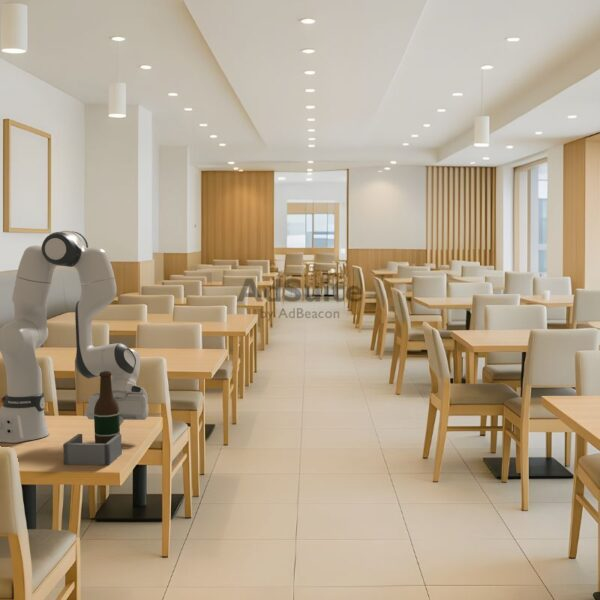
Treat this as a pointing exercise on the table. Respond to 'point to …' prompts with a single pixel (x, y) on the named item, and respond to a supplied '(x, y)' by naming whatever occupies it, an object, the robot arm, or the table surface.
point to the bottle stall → (91, 451)
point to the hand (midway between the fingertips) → (112, 429)
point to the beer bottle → (106, 412)
